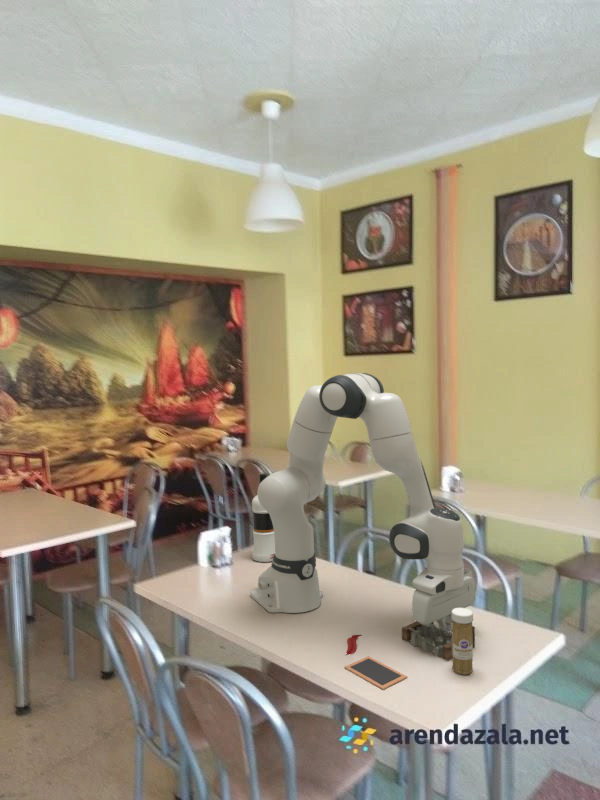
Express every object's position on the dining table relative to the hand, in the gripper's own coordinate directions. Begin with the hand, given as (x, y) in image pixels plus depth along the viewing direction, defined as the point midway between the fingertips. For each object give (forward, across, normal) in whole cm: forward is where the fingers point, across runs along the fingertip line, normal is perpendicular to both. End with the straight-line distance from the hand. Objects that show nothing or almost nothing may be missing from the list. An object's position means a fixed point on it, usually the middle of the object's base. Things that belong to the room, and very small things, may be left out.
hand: (445, 631), depth 150 cm
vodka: (+2, -3, -80) cm, 80 cm away
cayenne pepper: (+3, +19, -13) cm, 23 cm away
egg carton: (+2, +5, 0) cm, 6 cm away
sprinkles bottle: (+2, +9, +12) cm, 15 cm away
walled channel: (+2, +3, 0) cm, 4 cm away
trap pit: (+2, +24, 0) cm, 24 cm away
